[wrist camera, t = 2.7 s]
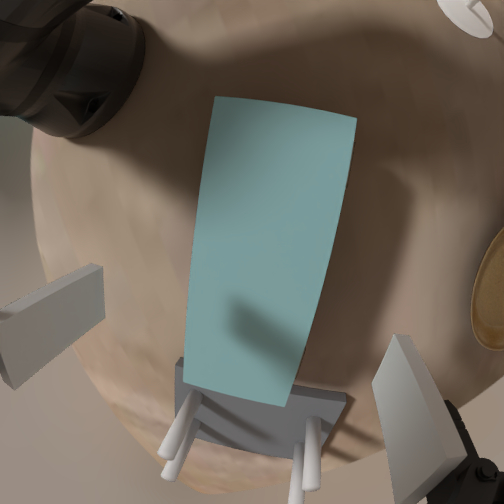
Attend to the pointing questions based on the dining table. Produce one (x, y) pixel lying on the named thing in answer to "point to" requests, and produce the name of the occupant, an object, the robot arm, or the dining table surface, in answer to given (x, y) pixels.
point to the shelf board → (262, 243)
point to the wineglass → (468, 16)
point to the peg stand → (254, 428)
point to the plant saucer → (489, 297)
